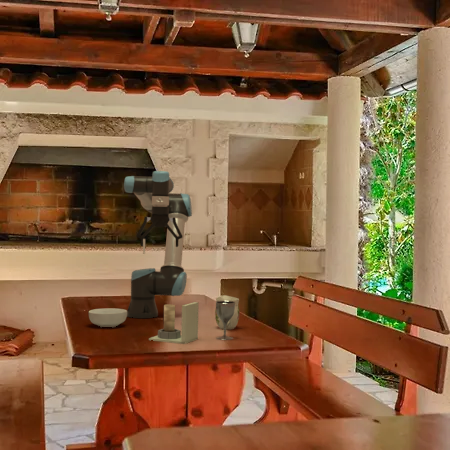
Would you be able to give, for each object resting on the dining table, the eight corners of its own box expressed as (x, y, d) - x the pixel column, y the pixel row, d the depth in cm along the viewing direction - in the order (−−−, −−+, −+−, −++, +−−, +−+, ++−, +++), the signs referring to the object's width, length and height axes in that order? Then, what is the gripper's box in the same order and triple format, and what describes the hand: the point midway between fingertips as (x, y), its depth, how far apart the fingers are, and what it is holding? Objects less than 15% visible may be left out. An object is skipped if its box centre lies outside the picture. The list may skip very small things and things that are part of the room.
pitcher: (218, 332, 299) (219, 300, 298) (211, 325, 316) (212, 295, 316) (243, 332, 300) (244, 300, 300) (235, 325, 318) (236, 295, 318)
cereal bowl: (112, 322, 320) (112, 306, 320) (134, 326, 308) (134, 311, 308) (81, 325, 308) (81, 310, 308) (102, 331, 296) (102, 314, 296)
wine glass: (214, 336, 289) (215, 300, 288) (233, 336, 289) (234, 300, 289) (215, 340, 281) (216, 303, 280) (235, 340, 281) (236, 303, 281)
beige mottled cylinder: (161, 337, 279) (162, 305, 279) (166, 335, 283) (167, 304, 283) (171, 338, 277) (171, 306, 277) (176, 336, 281) (176, 304, 281)
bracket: (148, 340, 277) (149, 302, 277) (162, 335, 288) (163, 299, 288) (184, 344, 271) (185, 305, 271) (197, 339, 282) (198, 302, 282)
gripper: (131, 205, 302) (130, 254, 302) (188, 206, 303) (187, 255, 303) (132, 205, 309) (131, 252, 310) (188, 206, 310) (187, 254, 311)
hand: (159, 254), depth 306 cm, fingers open, 13 cm apart
